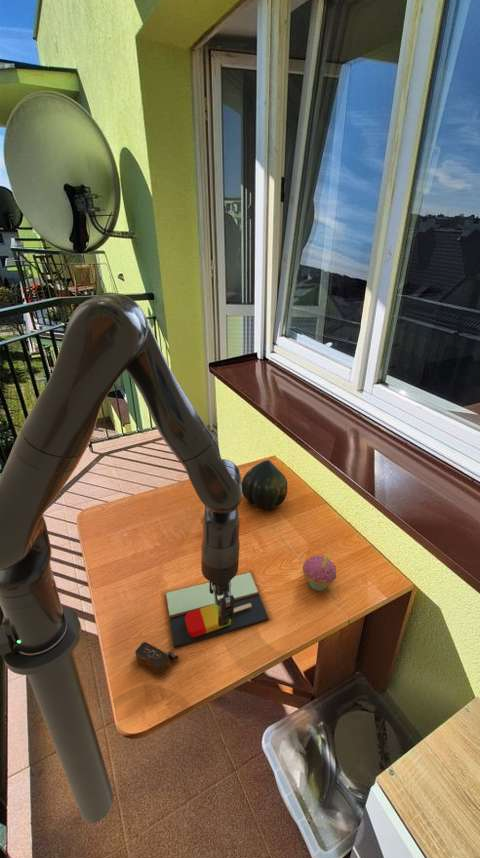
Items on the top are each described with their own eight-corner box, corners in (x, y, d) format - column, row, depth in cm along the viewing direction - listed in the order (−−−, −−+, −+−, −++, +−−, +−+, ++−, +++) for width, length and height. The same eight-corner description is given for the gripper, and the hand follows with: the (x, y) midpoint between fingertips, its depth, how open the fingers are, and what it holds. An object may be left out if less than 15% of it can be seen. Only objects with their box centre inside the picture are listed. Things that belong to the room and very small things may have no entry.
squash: (254, 510, 112) (281, 467, 113) (225, 488, 122) (251, 448, 123) (279, 521, 123) (304, 482, 124) (251, 500, 132) (274, 464, 134)
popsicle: (183, 618, 84) (183, 612, 83) (247, 598, 90) (247, 592, 90) (189, 640, 80) (189, 634, 79) (255, 617, 86) (255, 611, 85)
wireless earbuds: (163, 679, 73) (162, 669, 72) (135, 662, 76) (133, 652, 74) (179, 658, 77) (178, 648, 75) (151, 643, 79) (150, 633, 78)
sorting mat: (174, 648, 79) (174, 645, 78) (166, 594, 90) (165, 591, 90) (268, 619, 86) (268, 617, 86) (250, 573, 98) (250, 571, 97)
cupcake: (340, 589, 96) (348, 554, 90) (312, 602, 92) (319, 566, 86) (321, 565, 102) (327, 532, 97) (294, 576, 98) (299, 542, 93)
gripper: (195, 532, 80) (195, 586, 88) (209, 584, 69) (208, 641, 76) (229, 526, 83) (227, 578, 91) (248, 575, 72) (244, 630, 79)
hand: (218, 607), depth 83 cm, fingers open, 8 cm apart
